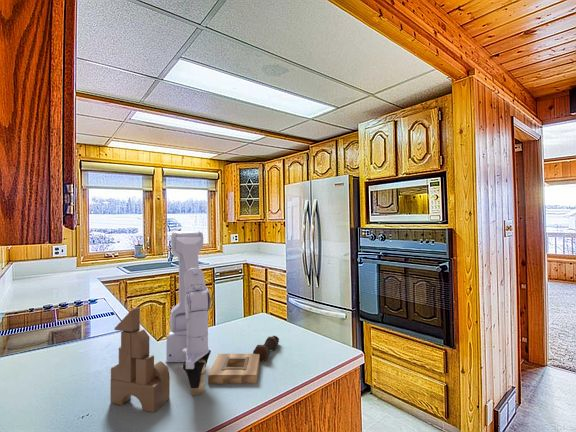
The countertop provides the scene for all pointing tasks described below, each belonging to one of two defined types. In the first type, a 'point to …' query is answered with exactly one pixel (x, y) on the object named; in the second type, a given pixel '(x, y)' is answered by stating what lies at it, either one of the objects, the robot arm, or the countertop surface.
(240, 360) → the board
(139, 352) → the wooden toy
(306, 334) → the countertop surface
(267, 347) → the bolt
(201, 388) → the peg
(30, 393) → the countertop surface
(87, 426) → the countertop surface
